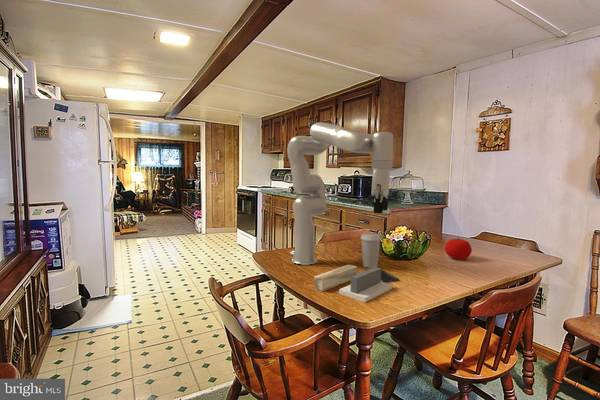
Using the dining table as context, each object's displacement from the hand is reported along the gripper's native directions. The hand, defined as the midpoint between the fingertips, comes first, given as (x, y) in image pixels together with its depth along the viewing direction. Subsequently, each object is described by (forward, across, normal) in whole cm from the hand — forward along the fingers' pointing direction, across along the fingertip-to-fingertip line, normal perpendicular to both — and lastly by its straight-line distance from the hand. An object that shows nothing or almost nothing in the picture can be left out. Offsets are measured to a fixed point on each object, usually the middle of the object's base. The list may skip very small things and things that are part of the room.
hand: (380, 211), depth 120 cm
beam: (+29, +5, -16) cm, 33 cm away
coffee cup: (+29, -24, -9) cm, 38 cm away
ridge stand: (+29, +8, -3) cm, 30 cm away
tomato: (+29, -56, +28) cm, 69 cm away
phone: (+29, -12, -1) cm, 31 cm away
